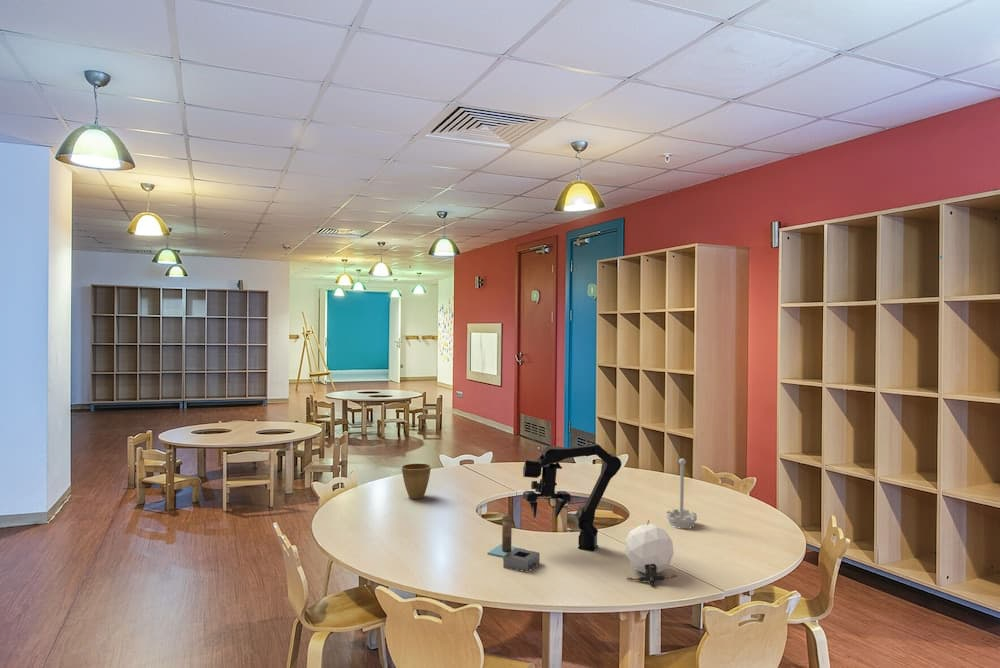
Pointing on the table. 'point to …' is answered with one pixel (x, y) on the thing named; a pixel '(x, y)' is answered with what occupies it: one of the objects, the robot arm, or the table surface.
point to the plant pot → (416, 479)
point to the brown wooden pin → (506, 532)
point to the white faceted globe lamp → (649, 551)
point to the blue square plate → (500, 551)
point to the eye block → (521, 559)
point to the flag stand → (681, 507)
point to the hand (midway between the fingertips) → (545, 517)
